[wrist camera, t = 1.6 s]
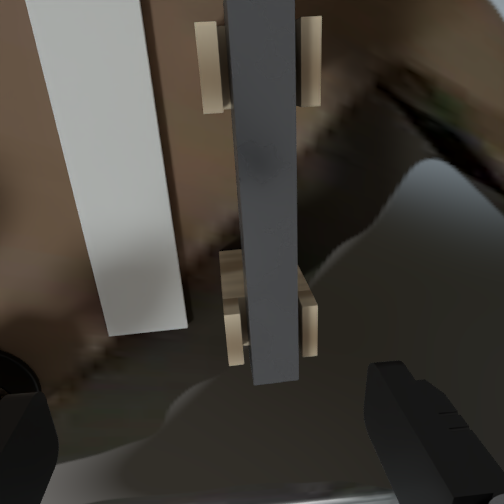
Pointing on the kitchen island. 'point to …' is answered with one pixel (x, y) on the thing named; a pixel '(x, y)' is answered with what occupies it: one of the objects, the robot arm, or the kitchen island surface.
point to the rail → (266, 178)
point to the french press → (17, 375)
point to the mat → (113, 156)
